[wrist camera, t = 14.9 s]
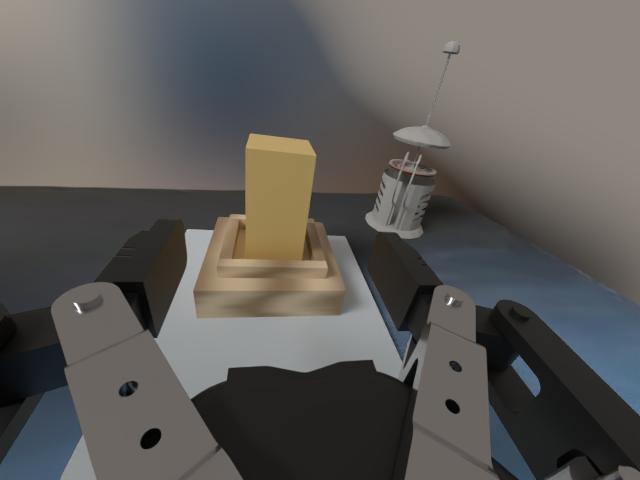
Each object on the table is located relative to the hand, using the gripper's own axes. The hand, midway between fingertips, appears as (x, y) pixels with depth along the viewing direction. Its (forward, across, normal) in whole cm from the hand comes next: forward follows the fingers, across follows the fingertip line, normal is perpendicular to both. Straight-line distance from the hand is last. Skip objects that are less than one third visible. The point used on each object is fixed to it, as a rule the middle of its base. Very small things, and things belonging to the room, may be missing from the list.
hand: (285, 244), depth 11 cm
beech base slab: (+12, 0, +12) cm, 17 cm away
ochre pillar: (+12, 0, +9) cm, 15 cm away
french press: (+26, -20, +13) cm, 36 cm away
